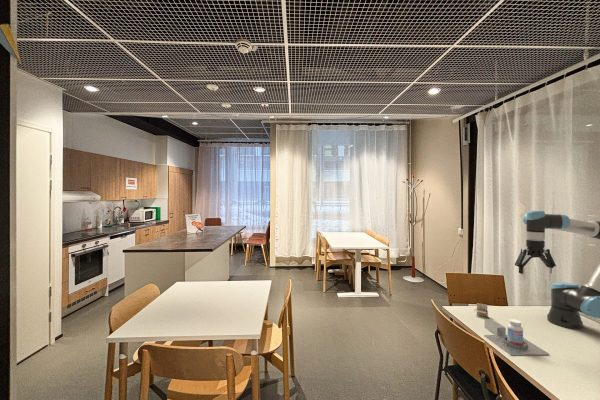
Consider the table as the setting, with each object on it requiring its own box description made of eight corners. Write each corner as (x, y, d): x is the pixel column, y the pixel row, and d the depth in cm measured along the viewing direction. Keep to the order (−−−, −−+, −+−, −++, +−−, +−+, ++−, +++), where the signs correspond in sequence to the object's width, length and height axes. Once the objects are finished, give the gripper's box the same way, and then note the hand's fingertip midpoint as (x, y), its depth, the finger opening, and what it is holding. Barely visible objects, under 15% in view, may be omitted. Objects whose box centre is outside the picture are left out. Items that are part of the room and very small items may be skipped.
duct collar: (504, 327, 158) (504, 319, 158) (549, 355, 130) (549, 345, 130) (472, 327, 157) (472, 319, 157) (510, 355, 129) (510, 345, 129)
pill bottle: (511, 346, 136) (511, 323, 136) (504, 340, 142) (505, 317, 142) (525, 347, 135) (526, 324, 135) (518, 341, 141) (518, 318, 141)
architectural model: (487, 319, 169) (487, 306, 169) (474, 316, 173) (474, 304, 173) (487, 317, 172) (487, 305, 172) (474, 314, 176) (474, 302, 176)
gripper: (551, 238, 154) (551, 277, 154) (506, 238, 154) (506, 277, 154) (565, 240, 147) (564, 281, 147) (517, 240, 146) (517, 281, 146)
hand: (535, 279), depth 150 cm, fingers open, 13 cm apart
